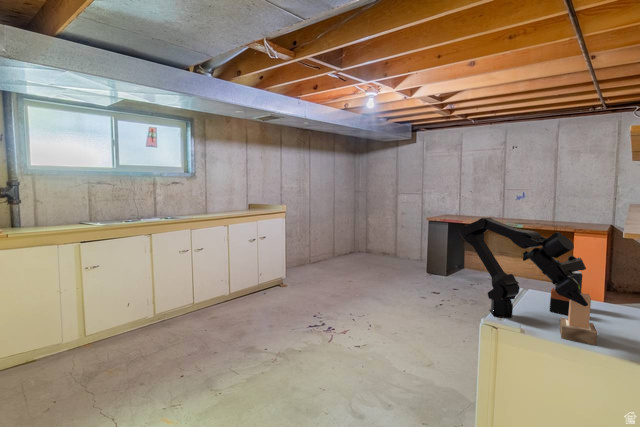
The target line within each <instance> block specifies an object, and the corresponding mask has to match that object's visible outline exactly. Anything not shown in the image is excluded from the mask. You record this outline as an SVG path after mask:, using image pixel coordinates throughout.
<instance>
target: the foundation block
mask: <svg viewBox="0 0 640 427" xmlns="http://www.w3.org/2000/svg"><path fill="white" fill-rule="evenodd" d="M559 332H560V334H559V335H560V338H561V339H563V340H568V341H573V342H578V343H582V344H588V345H592V346H593V345H594V346H597V340H598V331H597V329H596V326H595V324H594V323H593V322H589V329H586V328H580V327H575V326H570V325H569V322H568V318H566V317H560V318H559Z"/></svg>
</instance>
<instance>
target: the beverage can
mask: <svg viewBox="0 0 640 427" xmlns="http://www.w3.org/2000/svg"><path fill="white" fill-rule="evenodd" d="M582 273H583V272H582V271H581V270H579V271H575V272H573V274H574V275H575V280H576V281H577V283H578V284H579V289H580V291H581V292H582V285H583V274H582ZM570 276H572V274H571V275H570Z"/></svg>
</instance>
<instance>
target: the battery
mask: <svg viewBox="0 0 640 427" xmlns="http://www.w3.org/2000/svg"><path fill="white" fill-rule="evenodd" d="M549 300H550V302H549V312H551V313H553V314H558V315H564V316H567V317H568V314H569V301H570V299H568V298H566V297H564V296H560V295H559V294H558V293H557V292H556V291H555V287H552V288H551V290H550V299H549Z"/></svg>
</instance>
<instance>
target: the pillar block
mask: <svg viewBox="0 0 640 427" xmlns="http://www.w3.org/2000/svg"><path fill="white" fill-rule="evenodd" d="M581 295H582V296H583V298H584V299H585V300H586V302H587V303H588V305H587V306H583V305H581V304H579V303H577V302H575V301H572V300H570V301H569V314H568V316H567V319H568V322H569V325H570V326H575V327H580V328H586V329H589V323H590V315H591V305H592V297H591V295H590V294H589V293H583V292H582V293H581Z"/></svg>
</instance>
